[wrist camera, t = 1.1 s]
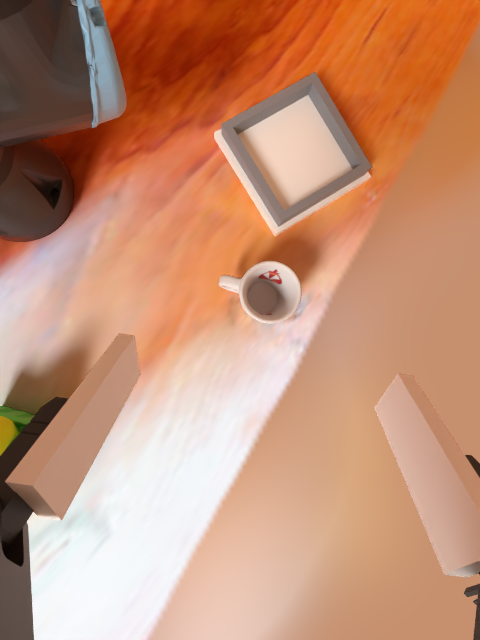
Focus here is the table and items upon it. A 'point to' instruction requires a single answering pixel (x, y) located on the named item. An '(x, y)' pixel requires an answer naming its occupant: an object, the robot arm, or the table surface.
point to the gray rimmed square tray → (293, 153)
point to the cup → (266, 291)
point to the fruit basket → (11, 425)
